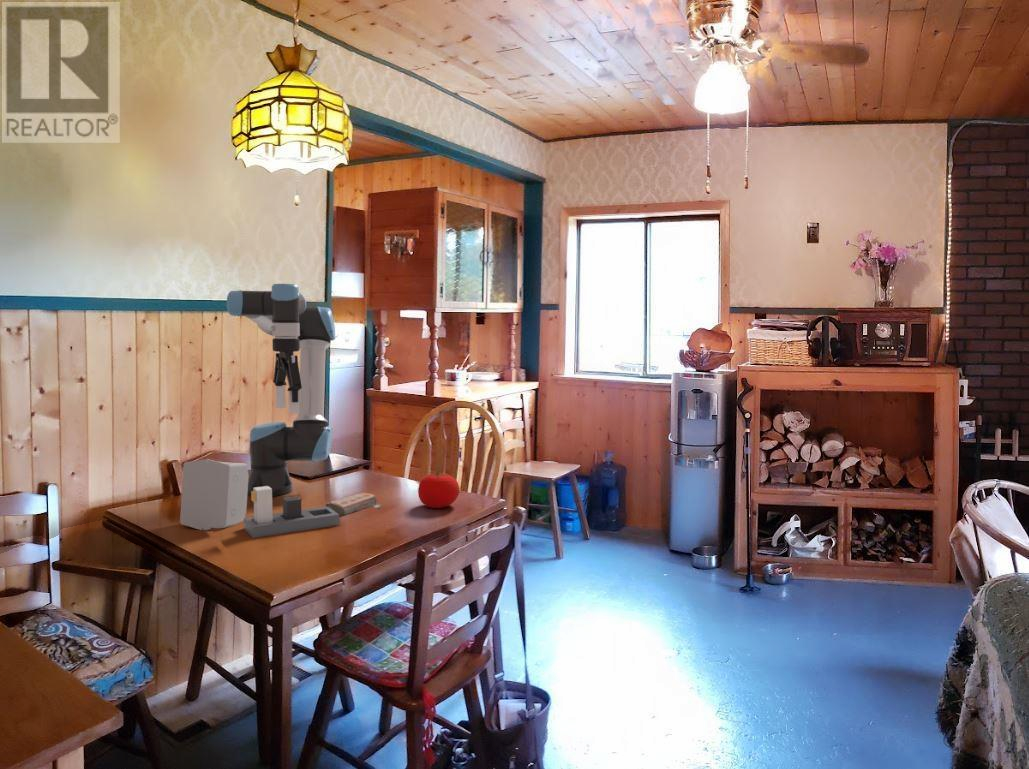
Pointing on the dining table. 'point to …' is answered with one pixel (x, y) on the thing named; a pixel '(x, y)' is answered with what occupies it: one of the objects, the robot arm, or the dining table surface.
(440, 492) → the tomato
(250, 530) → the socket strip
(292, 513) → the dark grey block
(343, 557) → the dining table surface
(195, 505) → the electrical switch box
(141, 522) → the dining table surface
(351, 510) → the packaged product
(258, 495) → the plug
